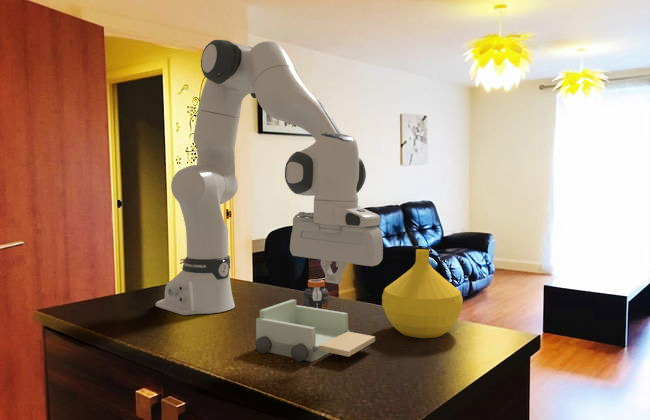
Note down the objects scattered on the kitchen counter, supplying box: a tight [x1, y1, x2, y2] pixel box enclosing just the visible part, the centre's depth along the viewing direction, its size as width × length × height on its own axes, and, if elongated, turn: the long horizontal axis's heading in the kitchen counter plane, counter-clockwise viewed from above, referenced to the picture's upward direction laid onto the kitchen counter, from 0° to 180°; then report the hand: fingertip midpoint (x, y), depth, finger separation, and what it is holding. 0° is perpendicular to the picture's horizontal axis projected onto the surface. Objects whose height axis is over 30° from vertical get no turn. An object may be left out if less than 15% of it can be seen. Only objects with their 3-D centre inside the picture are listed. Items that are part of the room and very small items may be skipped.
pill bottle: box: [303, 278, 330, 310], centre depth 126 cm, size 6×6×11 cm
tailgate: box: [320, 331, 376, 358], centre depth 106 cm, size 1×11×6 cm
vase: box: [381, 248, 464, 339], centre depth 121 cm, size 18×18×19 cm
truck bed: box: [255, 298, 351, 363], centre depth 111 cm, size 15×17×8 cm
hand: (333, 282), depth 106 cm, fingers closed
